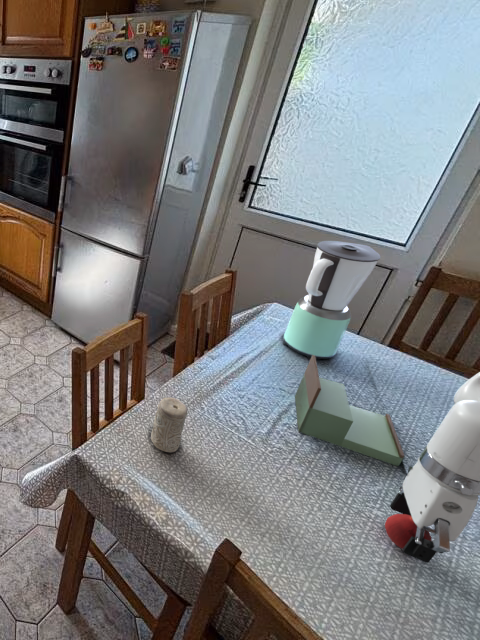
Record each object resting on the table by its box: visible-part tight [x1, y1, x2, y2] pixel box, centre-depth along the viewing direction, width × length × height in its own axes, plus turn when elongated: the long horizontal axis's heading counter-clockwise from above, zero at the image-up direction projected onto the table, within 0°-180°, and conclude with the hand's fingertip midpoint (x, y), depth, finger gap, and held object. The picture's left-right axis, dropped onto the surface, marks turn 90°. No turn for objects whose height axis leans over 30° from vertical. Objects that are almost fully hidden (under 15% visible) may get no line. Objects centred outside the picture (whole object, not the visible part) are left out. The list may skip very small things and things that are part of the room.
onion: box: [384, 513, 432, 550], centre depth 75 cm, size 6×6×8 cm
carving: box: [150, 396, 188, 453], centre depth 95 cm, size 6×8×12 cm
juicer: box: [282, 240, 381, 361], centre depth 121 cm, size 19×13×35 cm
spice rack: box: [294, 355, 405, 467], centre depth 98 cm, size 18×14×14 cm
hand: (407, 533), depth 75 cm, fingers open, 8 cm apart
